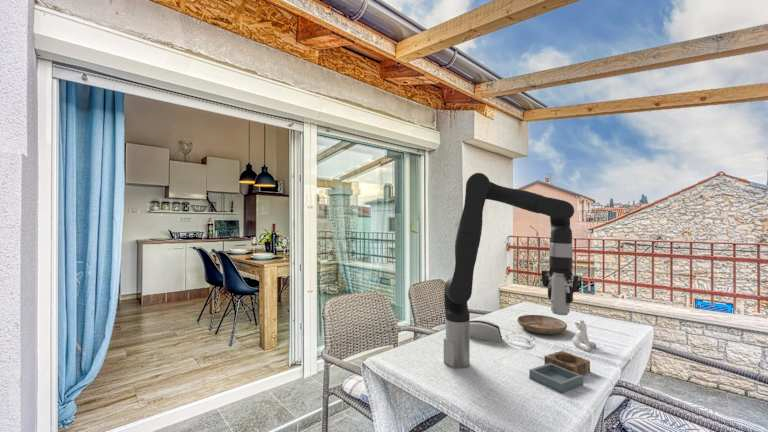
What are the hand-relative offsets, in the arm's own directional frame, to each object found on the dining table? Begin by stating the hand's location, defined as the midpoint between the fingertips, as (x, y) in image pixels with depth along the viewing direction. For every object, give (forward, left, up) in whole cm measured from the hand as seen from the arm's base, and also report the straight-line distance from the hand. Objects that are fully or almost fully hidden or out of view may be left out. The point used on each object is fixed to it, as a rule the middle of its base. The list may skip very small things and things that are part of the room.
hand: (560, 300), depth 122 cm
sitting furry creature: (+34, +11, -27) cm, 45 cm away
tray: (-7, -3, -27) cm, 28 cm away
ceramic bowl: (+39, +35, -27) cm, 60 cm away
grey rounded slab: (+3, +41, -27) cm, 49 cm away
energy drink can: (0, 0, -5) cm, 5 cm away
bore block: (+6, +1, -27) cm, 28 cm away
